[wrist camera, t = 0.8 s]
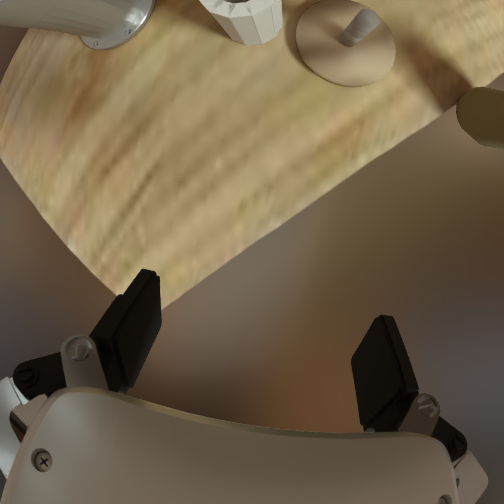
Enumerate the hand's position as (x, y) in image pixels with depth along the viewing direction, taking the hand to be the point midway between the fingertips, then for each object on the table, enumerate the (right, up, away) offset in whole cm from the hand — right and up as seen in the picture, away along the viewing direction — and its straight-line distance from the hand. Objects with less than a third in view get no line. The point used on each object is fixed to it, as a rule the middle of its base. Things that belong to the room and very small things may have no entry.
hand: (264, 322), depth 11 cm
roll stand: (+11, +28, +13) cm, 32 cm away
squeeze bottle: (+30, +22, +14) cm, 39 cm away
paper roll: (0, +30, +13) cm, 33 cm away
